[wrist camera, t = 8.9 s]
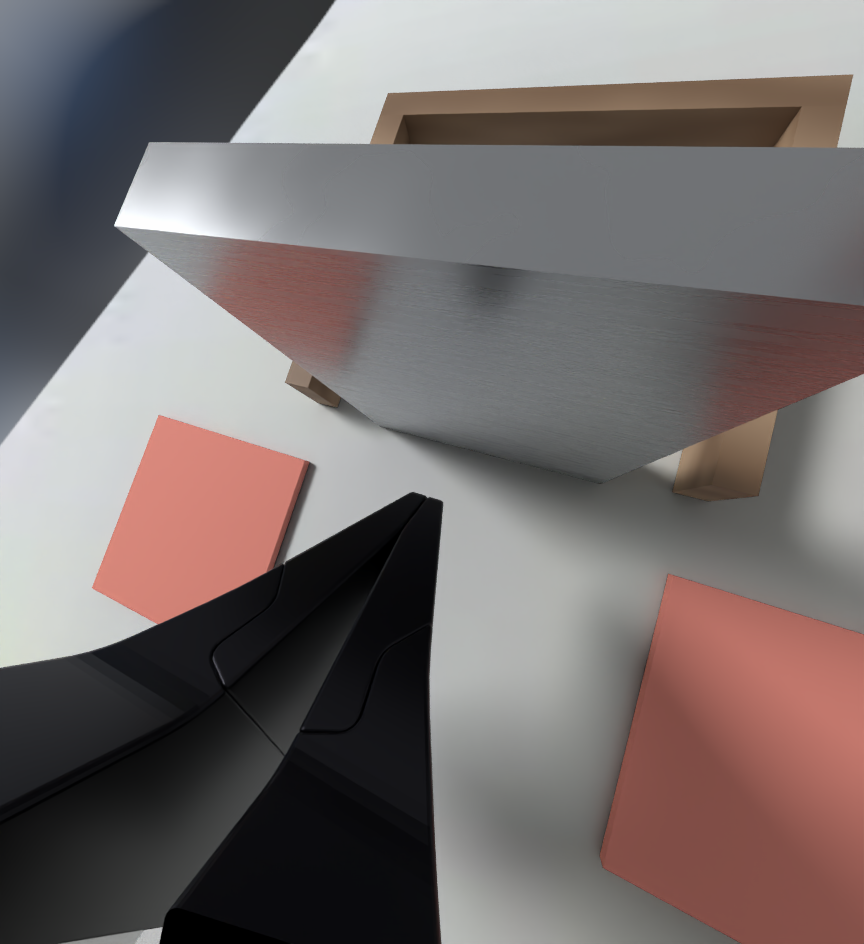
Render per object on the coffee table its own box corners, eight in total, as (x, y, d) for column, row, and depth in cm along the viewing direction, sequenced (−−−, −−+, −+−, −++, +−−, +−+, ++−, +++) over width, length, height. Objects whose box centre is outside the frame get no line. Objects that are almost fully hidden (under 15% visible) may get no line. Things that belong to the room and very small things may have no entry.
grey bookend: (599, 483, 13) (994, 319, 2) (380, 426, 16) (113, 225, 5) (670, 219, 14) (1173, -714, 3) (452, 206, 17) (356, -350, 6)
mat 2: (998, 1071, 9) (1021, 1097, 8) (599, 855, 11) (602, 867, 11) (1052, 693, 9) (1076, 700, 9) (668, 573, 12) (673, 575, 12)
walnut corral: (708, 501, 12) (758, 495, 10) (317, 402, 17) (285, 382, 14) (790, 155, 13) (853, 74, 11) (404, 151, 18) (388, 93, 15)
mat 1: (240, 662, 15) (234, 665, 15) (100, 586, 18) (91, 588, 18) (309, 461, 16) (304, 460, 16) (165, 417, 19) (158, 414, 18)
